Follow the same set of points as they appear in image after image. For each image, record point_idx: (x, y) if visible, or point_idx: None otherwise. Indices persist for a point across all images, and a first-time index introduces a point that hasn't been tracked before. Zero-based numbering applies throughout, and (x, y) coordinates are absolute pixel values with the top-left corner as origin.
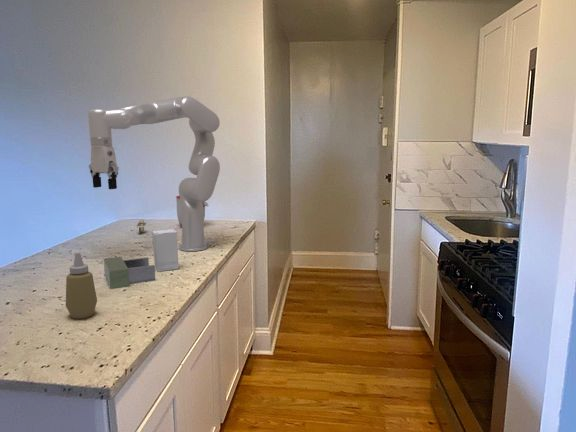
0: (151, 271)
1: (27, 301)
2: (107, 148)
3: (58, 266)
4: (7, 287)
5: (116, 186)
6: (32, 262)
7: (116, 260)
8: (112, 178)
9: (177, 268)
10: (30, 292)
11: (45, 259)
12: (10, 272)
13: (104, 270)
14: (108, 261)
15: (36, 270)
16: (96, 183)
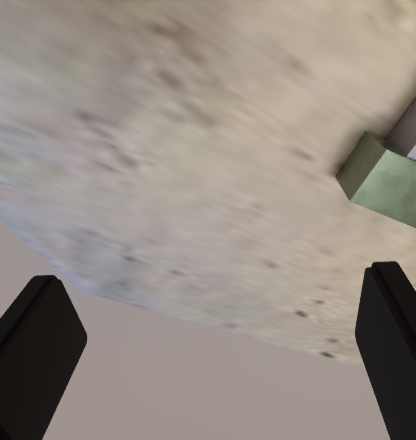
0: None
1: (349, 339)
2: None
3: (152, 218)
4: (236, 330)
5: (404, 280)
6: (67, 241)
7: (411, 186)
8: None
9: None
10: (304, 321)
11: (53, 210)
12: (130, 296)
13: (340, 183)
14: (395, 208)
15: (152, 262)
16: (60, 357)
